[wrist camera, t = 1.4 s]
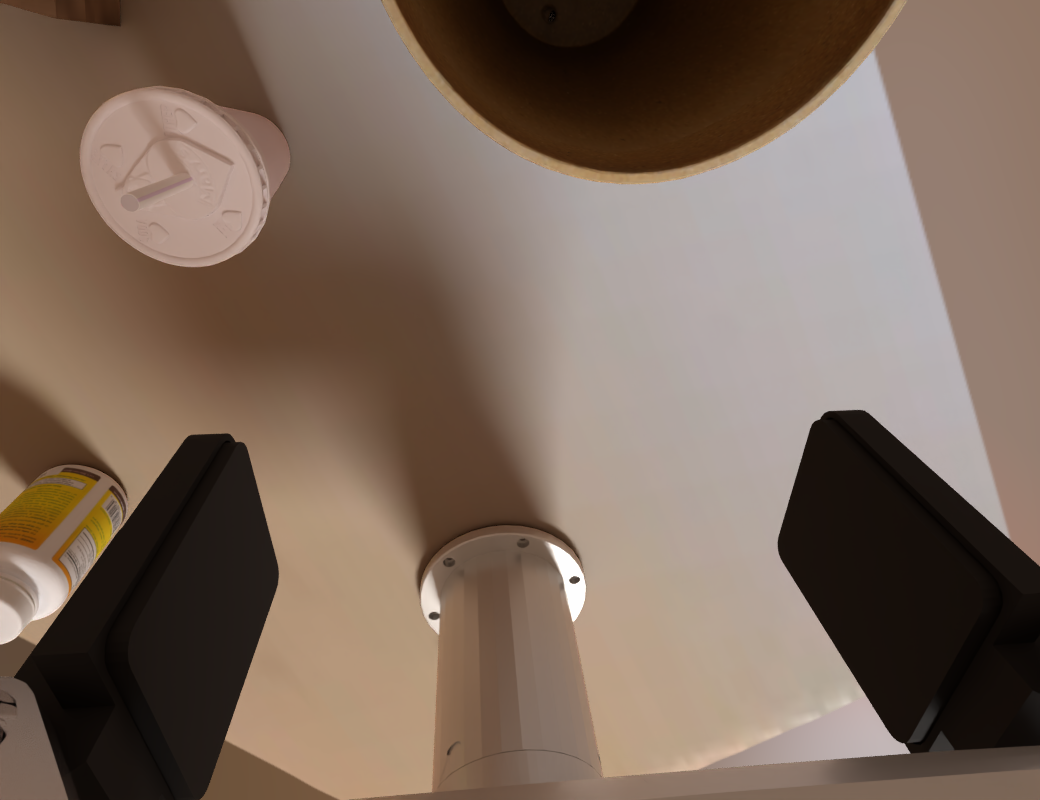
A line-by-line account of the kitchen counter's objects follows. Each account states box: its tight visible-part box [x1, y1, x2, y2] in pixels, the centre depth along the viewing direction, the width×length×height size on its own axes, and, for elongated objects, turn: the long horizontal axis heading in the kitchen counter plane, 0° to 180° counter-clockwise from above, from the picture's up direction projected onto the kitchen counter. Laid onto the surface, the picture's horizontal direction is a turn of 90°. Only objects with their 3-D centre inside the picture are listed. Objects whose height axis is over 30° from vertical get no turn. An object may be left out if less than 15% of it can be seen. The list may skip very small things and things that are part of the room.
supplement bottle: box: [0, 465, 128, 644], centre depth 35 cm, size 6×6×10 cm
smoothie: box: [80, 86, 290, 267], centre depth 25 cm, size 6×6×14 cm
